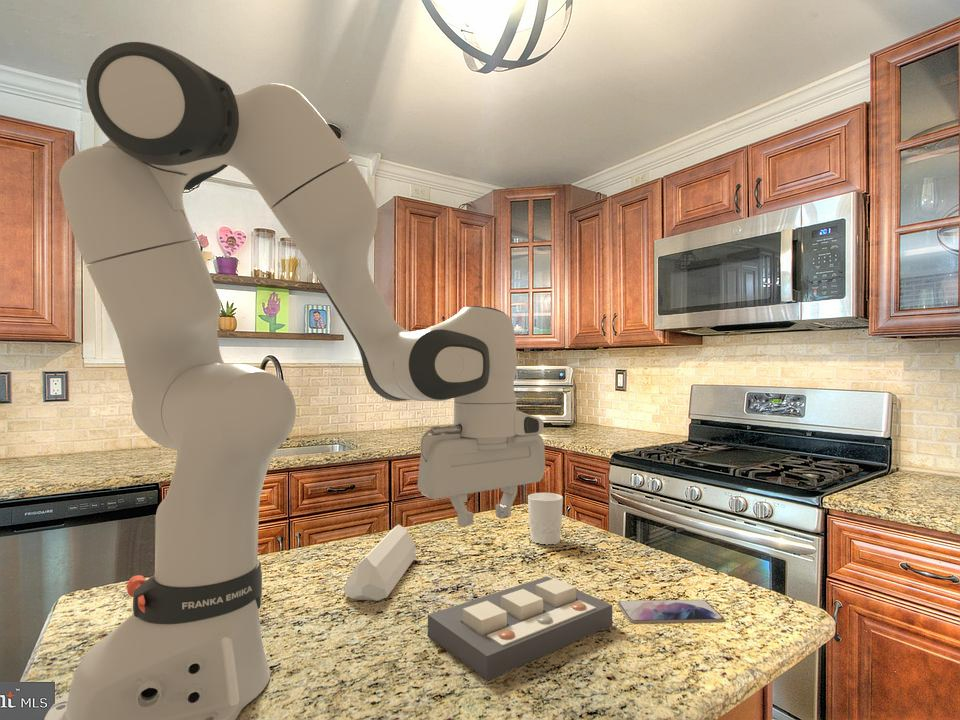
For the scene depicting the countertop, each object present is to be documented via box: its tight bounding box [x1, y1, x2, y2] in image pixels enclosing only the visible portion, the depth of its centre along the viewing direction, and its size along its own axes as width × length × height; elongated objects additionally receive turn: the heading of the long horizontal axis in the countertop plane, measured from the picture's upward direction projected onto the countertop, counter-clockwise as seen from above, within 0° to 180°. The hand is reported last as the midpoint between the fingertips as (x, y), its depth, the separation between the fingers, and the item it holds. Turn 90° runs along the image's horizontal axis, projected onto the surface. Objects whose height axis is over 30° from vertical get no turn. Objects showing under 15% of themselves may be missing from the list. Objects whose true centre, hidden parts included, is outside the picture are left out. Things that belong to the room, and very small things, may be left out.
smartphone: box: [617, 599, 725, 624], centre depth 84 cm, size 7×1×15 cm
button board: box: [427, 576, 613, 681], centre depth 78 cm, size 24×14×3 cm, turn 127°
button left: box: [463, 601, 507, 635], centre depth 74 cm, size 4×4×3 cm
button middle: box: [501, 589, 543, 621], centre depth 78 cm, size 4×4×3 cm
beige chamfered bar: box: [344, 523, 417, 602], centre depth 98 cm, size 7×7×24 cm
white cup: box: [527, 492, 564, 545], centre depth 120 cm, size 8×8×10 cm
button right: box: [536, 578, 577, 607], centre depth 82 cm, size 4×4×3 cm
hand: (484, 521), depth 74 cm, fingers open, 5 cm apart
